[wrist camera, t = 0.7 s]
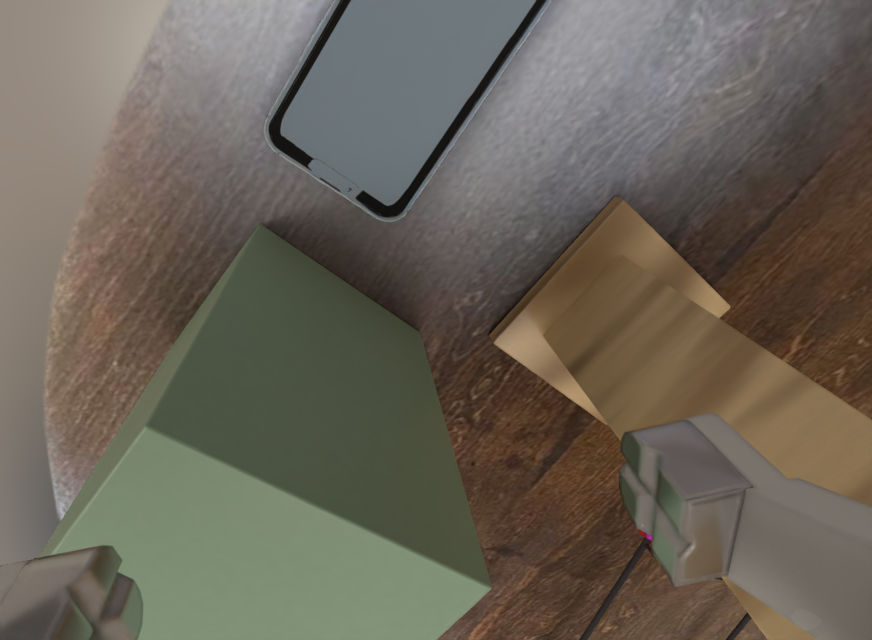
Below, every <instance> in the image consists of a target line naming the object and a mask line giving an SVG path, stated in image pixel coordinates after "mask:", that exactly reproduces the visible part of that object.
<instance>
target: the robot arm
mask: <svg viewBox="0 0 872 640" xmlns="http://www.w3.org/2000/svg"><path fill="white" fill-rule="evenodd" d="M620 451H621V453H622V454H623V455H624V457H625V458H626V460H627V462H626V463H625V464H624V465H623V467H622V468H621V469H620V471H619V489H620V493H621V497H622V501H623V504H624V506H625V509H626V511H627V513H628V515H629V517H630V518H631V520H632V522H633V523H634V525H635V527H636V528H638V529H639V530H641V531H643V532H645V533H646V534H648V535H650V536H652V543H651V552H652V553H653V555H654V556H655V558H656V559H657V561H658V563H659V564H660V566H661V567H662V569H663V570H664V572H665V573H666V575H667V576H668V578H669V579H670V581H671V583H672V584H673V586H674V587H678V586H682V585H687V584H692V583H696V582H701V581H706V580H710V579H715V578H719V577H724V576H728V578H727V579H728V580H730V581H731V582H733V583H734V584H736V585H737V586H739V587H740V588H742V589H743V590H745V591H746V592H748V593H749V594H751V595H752V596H753V597H755V598H756V599H758V600H759V601H761V602H762V603H764V604H765V605H767V606H768V607H770V608H771V609H773V610H774V611H776V612H777V613H779V614H780V615H782V616H783V617H785V618H786V619H788V620H789V621H790V622H792V623H793V624H795V625H796V626H798V627H799V628H801V629H802V630H804V631H805V632H807V633H808V634H810V635H811V636H813V637H814V638H816V639H817V640H872V507H871V506H869V505H866V504H864V503H861V502H859V501H856V500H853V499H851V498H848V497H846V496H843V495H841V494H838V493H836V492H833V491H831V490H828V489H825V488H823V487H820V486H818V485H815V484H813V483H810V482H808V481H805V480H803V479H800V478H794V479H787V478H786V477H785V476H784V475H783V474H782V473H781V472H780V471H779V470H778V469H777V468H776V467H774V466H773V465H772V464H771V463H770V462H769V461H768V460H767V459H766V458H765V457H764V456H763V455H761V454H760V453H759V452H758V451H757V450H756V449H755V448H754V447H753V446H752V445H751V444H750V443H748V442H747V441H746V440H745V439H744V438H743V437H742V436H741V435H740V434H739V433H738V432H737V431H735V430H734V429H733V428H732V427H731V426H730V425H729V424H728V423H727V422H726V421H725V420H724V419H722V418H721V417H720V416H719V415H717V414H714V413H712V412H710V413H705V414H701V415H697V416H692V417H688V418H684V419H682V420H676V421H671V422H667V423H662V424H658V425H653V426H649V427H645V428H640V429H636V430H631V431H627V432H624V434H623V436H622V438H621V448H620ZM121 563H122V559H121V557H120V556H119V554H118V553H117V551H116V550H115V549H114V547H113V546H108V545H101V546H96V547H91V548H86V549H80V550H75V551H70V552H65V553H60V554H54V555H49V556H44V557H39V558H34V559H33V560H27V561H22V562H17V563H11V564H6V565H1V566H0V640H138V638H139V634H140V631H141V628H142V622H143V606H144V604H143V600H142V596H141V592H140V589H139V587H138V586H137V584H136V582H135V580H134V579H132V578H130V577H127V576H125V575H123V574H121V573H119V572H118V570H119V568H120V565H121Z"/></svg>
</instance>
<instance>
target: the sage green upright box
mask: <svg viewBox="0 0 872 640" xmlns="http://www.w3.org/2000/svg"><path fill="white" fill-rule="evenodd" d="M101 545H108V546H113V547H114V549H115V550H116V551H117V553H118V554H119V556H120V557H121V559H122V563H121V565H120V568H119V570H118V572H119V573H121V574H123V575H125V576H127V577H130V578H132V579H134V580H135V582H136V584H137V586H138V587H139V589H140V592H141V596H142V600H143V604H144V606H143V622H142V628H141V631H140V634H139V638H138V640H437V639H438V638H439V637H440V636H441V635H442V634H443V633H444V632H445V631H447V630H448V629H449V628H450V627H451V626H452V625H453V624H454V623H455V622H456V621H457V620H458V619H460V618H461V617H462V616H463V615H464V614H465V613H466V612H467V611H468V610H469V609H470V608H471V607H473V606H474V605H475V604H476V603H477V602H478V601H479V600H480V599H481V598H482V597H483V596H484V595H486V594H487V593H488V592H489V591H490V590H491V588H492V586H491V582H490V579H489V575H488V572H487V568H486V565H485V561H484V557H483V554H482V550H481V547H480V543H479V540H478V536H477V533H476V529H475V526H474V522H473V519H472V515H471V511H470V508H469V504H468V501H467V497H466V494H465V490H464V487H463V483H462V480H461V476H460V473H459V469H458V465H457V462H456V458H455V455H454V451H453V448H452V444H451V441H450V437H449V434H448V430H447V426H446V423H445V419H444V416H443V412H442V409H441V405H440V402H439V398H438V395H437V391H436V388H435V384H434V380H433V377H432V373H431V370H430V366H429V363H428V359H427V356H426V352H425V349H424V345H423V342H422V338H421V334H420V332H418V331H417V330H415V329H414V328H413V327H411V326H410V325H408V324H407V323H405V322H404V321H402V320H401V319H399V318H398V317H396V316H395V315H393V314H392V313H391V312H389V311H388V310H386V309H385V308H383V307H382V306H380V305H379V304H377V303H376V302H374V301H373V300H371V299H370V298H368V297H367V296H366V295H364V294H363V293H361V292H360V291H358V290H357V289H355V288H354V287H352V286H351V285H349V284H348V283H346V282H345V281H343V280H342V279H341V278H339V277H338V276H336V275H335V274H333V273H332V272H330V271H329V270H327V269H326V268H324V267H323V266H321V265H320V264H318V263H317V262H316V261H314V260H313V259H311V258H310V257H308V256H307V255H305V254H304V253H302V252H301V251H299V250H298V249H296V248H295V247H293V246H292V245H291V244H289V243H288V242H286V241H285V240H283V239H282V238H280V237H279V236H277V235H276V234H274V233H273V232H271V231H270V230H269V229H267V228H266V227H264V226H263V225H261V224H259V225H258V226H257V228H256V229H255V230H254V232H253V233H252V235H251V236H250V237H249V239H248V240H247V242H246V243H245V244H244V246H243V247H242V249H241V250H240V251H239V253H238V254H237V256H236V257H235V258H234V260H233V261H232V263H231V264H230V265H229V267H228V268H227V270H226V271H225V272H224V274H223V275H222V277H221V278H220V279H219V281H218V282H217V284H216V285H215V286H214V288H213V289H212V291H211V292H210V293H209V295H208V296H207V298H206V299H205V300H204V302H203V303H202V305H201V306H200V307H199V309H198V310H197V312H196V313H195V314H194V316H193V317H192V319H191V320H190V321H189V323H188V324H187V326H186V327H185V328H184V330H183V331H182V333H181V334H180V335H179V337H178V338H177V340H176V341H175V342H174V344H173V345H172V347H171V349H170V350H169V352H168V353H167V355H166V356H165V358H164V360H163V361H162V363H161V364H160V366H159V367H158V369H157V371H156V372H155V374H154V375H153V377H152V379H151V380H150V382H149V383H148V385H147V386H146V388H145V390H144V391H143V393H142V394H141V396H140V397H139V399H138V401H137V402H136V404H135V405H134V407H133V408H132V410H131V412H130V413H129V415H128V416H127V418H126V420H125V421H124V423H123V424H122V426H121V427H120V429H119V431H118V432H117V434H116V435H115V437H114V438H113V440H112V442H111V443H110V445H109V446H108V448H107V450H106V451H105V453H104V454H103V456H102V457H101V459H100V461H99V462H98V464H97V465H96V467H95V468H94V470H93V472H92V473H91V475H90V476H89V478H88V480H87V481H86V483H85V484H84V486H83V487H82V489H81V491H80V492H79V494H78V495H77V497H76V498H75V500H74V502H73V503H72V505H71V506H70V508H69V510H68V511H67V513H66V514H65V516H64V517H63V519H62V521H61V522H60V524H59V526H58V527H57V528H56V530H55V532H54V533H53V535H52V536H51V538H50V540H49V541H48V543H47V544H46V546H45V547H44V549H43V551H42V552H41V554H40V555H39V557H44V556H49V555H54V554H60V553H65V552H70V551H75V550H80V549H86V548H91V547H96V546H101ZM39 557H38V558H39Z"/></svg>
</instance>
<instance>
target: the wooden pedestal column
mask: <svg viewBox="0 0 872 640" xmlns="http://www.w3.org/2000/svg"><path fill="white" fill-rule="evenodd" d="M730 307H731V306H730V305H729V304H728V303H727V302H726V301H725V300H724V299H723V298H722V297H721V296H720V295H719V294H718V293H717V292H716V291H715V290H714V289H713V288H712V287H711V286H710V285H709V284H708V283H707V282H706V281H705V280H704V279H703V278H702V277H701V276H700V275H699V274H698V273H697V272H696V271H695V270H694V269H693V268H692V267H691V266H690V265H689V264H688V263H687V262H686V261H685V260H684V259H683V258H682V257H681V256H680V255H679V254H678V253H677V252H676V251H675V250H674V249H673V248H672V247H671V246H670V245H669V244H668V243H667V242H666V241H665V240H664V239H663V238H662V237H661V236H660V235H659V234H658V233H657V232H656V231H655V230H654V229H653V228H652V227H651V226H650V225H649V224H648V223H647V222H646V221H645V220H644V219H643V218H642V217H641V216H640V215H639V214H638V213H637V212H636V211H635V210H634V209H633V208H632V207H631V206H630V205H629V204H628V203H627V202H626V201H625V200H624V199H621V198H619V197H617V196H615V197H614V198H613V199H612V200H611V201H610V202H609V204H608V205H607V206H606V207H605V208H604V209H603V210H602V211H601V212H600V213H599V215H598V216H597V217H596V218H595V219H594V220H593V221H592V222H591V223H590V224H589V226H588V227H587V228H586V229H585V230H584V231H583V232H582V233H581V234H580V235H579V237H578V238H577V239H576V240H575V241H574V242H573V243H572V244H571V245H570V246H569V248H568V249H567V250H566V251H565V252H564V253H563V254H562V255H561V256H560V257H559V259H558V260H557V261H556V262H555V263H554V264H553V265H552V266H551V267H550V268H549V270H548V271H547V272H546V273H545V274H544V275H543V276H542V277H541V278H540V279H539V281H538V282H537V283H536V284H535V285H534V286H533V287H532V288H531V289H530V290H529V292H528V293H527V294H526V295H525V296H524V297H523V298H522V299H521V300H520V301H519V303H518V304H517V305H516V306H515V307H514V308H513V309H512V310H511V311H510V312H509V314H508V315H507V316H506V317H505V318H504V319H503V320H502V321H501V322H500V323H499V325H498V326H497V327H496V328H495V329H494V330H493V331H492V332H491V333H490V334H489V337H490V339H491V341H492V342H493V344H495V345H496V346H497V347H499V348H500V349H501V350H503V351H504V352H506V353H507V354H508V355H510V356H511V357H513V358H514V359H515V360H517V361H518V362H520V363H521V364H522V365H524V366H525V367H526V368H528V369H529V370H531V371H532V372H533V373H535V374H536V375H538V376H539V377H540V378H542V379H543V380H545V381H546V382H547V383H549V384H550V385H551V386H553V387H554V388H556V389H557V390H558V391H560V392H561V393H563V394H564V395H565V396H567V397H568V398H570V399H571V400H572V401H574V402H575V403H576V404H578V405H579V406H581V407H582V408H583V409H585V410H586V411H588V412H589V413H590V414H592V415H593V416H595V417H596V418H597V419H599V420H600V421H601V422H603V423H604V424H606V425H609V426H610V428H611V429H612V430H613V432H614V433H615V434H616V436H617V437H618V438H619V440H620V441H621V438H622V436H623V434H624V432H627V431H631V430H636V429H640V428H645V427H649V426H653V425H658V424H662V423H667V422H671V421H676V420H682V419H684V418H688V417H692V416H697V415H701V414H705V413H710V412H712V413H714V414H717V415H719V416H720V417H721V418H722V419H724V420H725V421H726V422H727V423H728V424H729V425H730V426H731V427H732V428H733V429H734V430H735V431H737V432H738V433H739V434H740V435H741V436H742V437H743V438H744V439H745V440H746V441H747V442H748V443H750V444H751V445H752V446H753V447H754V448H755V449H756V450H757V451H758V452H759V453H760V454H761V455H763V456H764V457H765V458H766V459H767V460H768V461H769V462H770V463H771V464H772V465H773V466H774V467H776V468H777V469H778V470H779V471H780V472H781V473H782V474H783V475H784V476H785V477H786V478H787V479H794V478H800V479H803V480H805V481H808V482H810V483H813V484H815V485H818V486H820V487H823V488H825V489H828V490H831V491H833V492H836V493H838V494H841V495H843V496H846V497H848V498H851V499H853V500H856V501H859V502H861V503H864V504H866V505H869V506H871V507H872V420H871V419H870V418H868V417H867V416H865V415H864V414H862V413H861V412H859V411H858V410H856V409H855V408H853V407H852V406H850V405H849V404H847V403H846V402H844V401H843V400H841V399H840V398H838V397H837V396H835V395H834V394H832V393H831V392H829V391H828V390H826V389H825V388H823V387H822V386H820V385H819V384H817V383H816V382H814V381H813V380H811V379H810V378H808V377H807V376H805V375H804V374H802V373H801V372H799V371H798V370H796V369H795V368H793V367H791V366H790V365H788V364H787V363H785V362H784V361H782V360H781V359H779V358H778V357H776V356H775V355H773V354H772V353H770V352H769V351H767V350H766V349H764V348H763V347H761V346H760V345H758V344H757V343H755V342H754V341H752V340H751V339H749V338H748V337H746V336H745V335H743V334H742V333H740V332H739V331H737V330H736V329H734V328H733V327H731V326H730V325H728V324H727V323H725V322H724V321H722V320H721V319H719V318H720V317H721V316H722V315H723V314H724V313H725V312H726V311H728V310H729V309H730ZM727 578H728V576H724V577H722V579H723V580H724V581H725V583H726V584H727V585H728V587H729V588H730V589H731V591H732V592H733V593H734V595H735V596H736V597H737V599H738V600H739V601H740V603H741V604H742V606H743V607H744V608H745V610H746V611H747V612H748V614H749V615H750V616H751V618H752V619H753V620H754V622H755V623H756V624H757V626H758V627H759V628H760V630H761V631H762V633H763V634H764V635H765V637H766V638H767V639H768V640H817V639H816V638H814V637H813V636H811V635H810V634H808V633H807V632H805V631H804V630H802V629H801V628H799V627H798V626H796V625H795V624H793V623H792V622H790V621H789V620H788V619H786V618H785V617H783V616H782V615H780V614H779V613H777V612H776V611H774V610H773V609H771V608H770V607H768V606H767V605H765V604H764V603H762V602H761V601H759V600H758V599H756V598H755V597H753V596H752V595H751V594H749V593H748V592H746V591H745V590H743V589H742V588H740V587H739V586H737V585H736V584H734V583H733V582H731V581H730V580H728V579H727Z"/></svg>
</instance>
